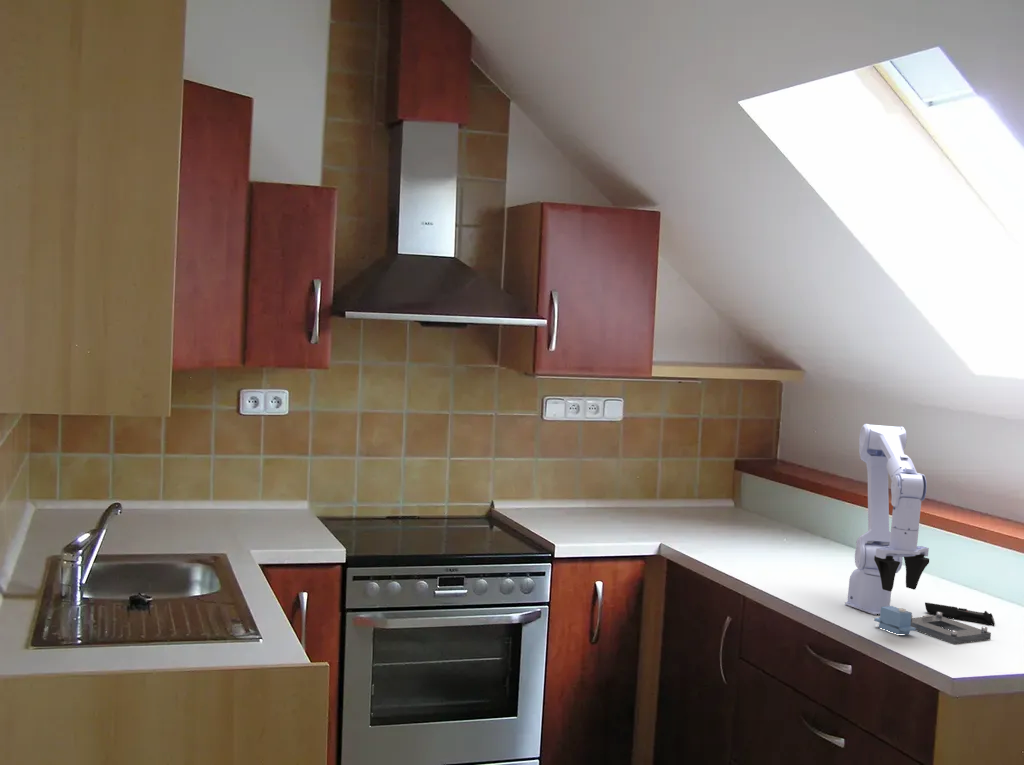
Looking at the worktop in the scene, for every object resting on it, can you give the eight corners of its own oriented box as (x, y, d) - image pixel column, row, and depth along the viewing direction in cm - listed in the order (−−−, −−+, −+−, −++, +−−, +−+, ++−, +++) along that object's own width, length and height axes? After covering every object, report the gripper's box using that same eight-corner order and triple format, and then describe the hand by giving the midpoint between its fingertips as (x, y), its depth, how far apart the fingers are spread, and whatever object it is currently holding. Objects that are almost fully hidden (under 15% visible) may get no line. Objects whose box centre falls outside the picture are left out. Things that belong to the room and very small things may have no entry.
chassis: (901, 625, 251) (903, 614, 251) (937, 621, 257) (938, 610, 257) (953, 644, 239) (955, 632, 239) (990, 639, 245) (991, 628, 245)
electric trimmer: (924, 613, 267) (925, 600, 267) (994, 624, 260) (996, 610, 260) (923, 616, 264) (924, 603, 263) (994, 627, 257) (995, 614, 257)
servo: (873, 627, 249) (876, 602, 248) (884, 625, 250) (886, 601, 250) (903, 638, 241) (906, 613, 241) (915, 637, 243) (917, 611, 243)
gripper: (896, 532, 237) (890, 595, 238) (942, 530, 245) (936, 591, 245) (870, 526, 243) (865, 587, 244) (916, 524, 251) (910, 584, 251)
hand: (899, 589), depth 245 cm, fingers open, 7 cm apart
